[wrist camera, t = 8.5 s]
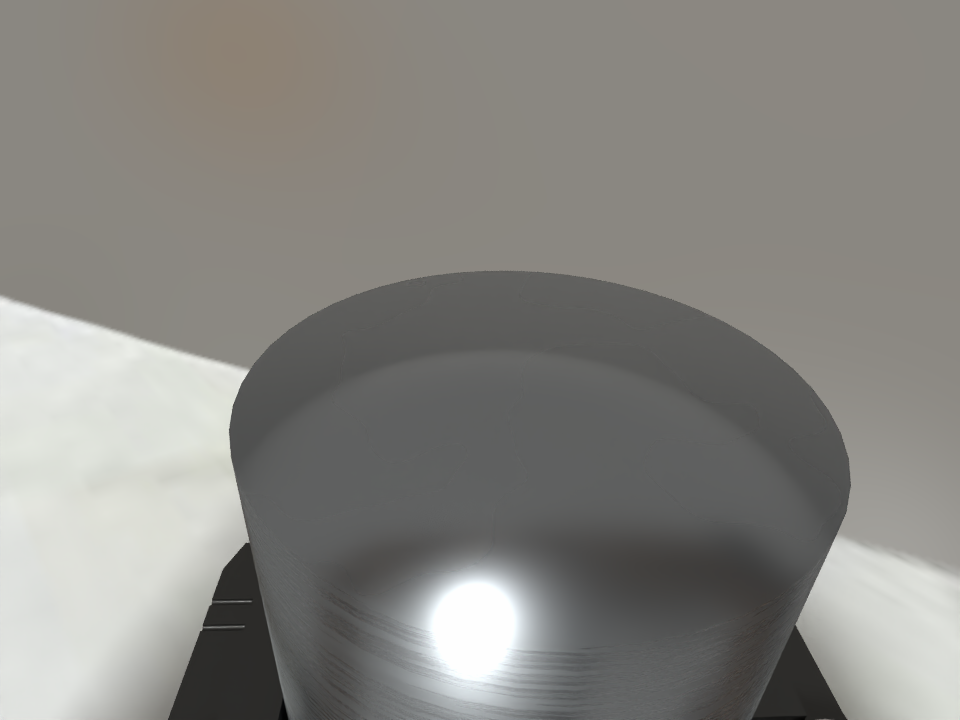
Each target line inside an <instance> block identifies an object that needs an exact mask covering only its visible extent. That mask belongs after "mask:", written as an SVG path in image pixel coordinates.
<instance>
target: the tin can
mask: <svg viewBox="0 0 960 720" xmlns="http://www.w3.org/2000/svg"><path fill="white" fill-rule="evenodd" d="M229 436H230V449H231V459H232V463H233V468H234V472H235V477H236V482H237V486H238V491H239V495H240V500H241V505H242V509H243V514H244V518H245V523H246V528H247V532H248V537H249V541H250V546H251V551H252V555H253V560H254V564H255V569H256V574H257V578H258V583H259V587H260V592H261V597H262V601H263V606H264V610H265V615H266V620H267V624H268V629H269V633H270V638H271V643H272V647H273V652H274V656H275V661H276V666H277V670H278V675H279V679H280V684H281V689H282V693H283V698H284V702H285V707H286V712H287V716H288V720H751V719H752V717H753V715H754V713H755V711H756V709H757V706H758V704H759V702H760V700H761V698H762V695H763V693H764V691H765V689H766V687H767V685H768V682H769V680H770V678H771V676H772V674H773V672H774V669H775V667H776V665H777V663H778V661H779V659H780V656H781V654H782V652H783V650H784V648H785V645H786V643H787V641H788V639H789V637H790V635H791V632H792V630H793V628H794V626H795V624H796V622H797V619H798V617H799V615H800V613H801V611H802V609H803V606H804V604H805V602H806V600H807V598H808V595H809V593H810V591H811V589H812V587H813V585H814V582H815V580H816V578H817V576H818V574H819V572H820V569H821V567H822V565H823V563H824V561H825V559H826V556H827V554H828V552H829V550H830V548H831V546H832V543H833V541H834V539H835V537H836V534H837V532H838V530H839V528H840V525H841V523H842V521H843V519H844V516H845V514H846V511H847V505H848V498H849V492H850V487H851V484H850V483H851V482H850V471H849V458H848V455H847V452H846V449H845V445H844V442H843V439H842V436H841V433H840V431H839V429H838V427H837V425H836V424H835V422H834V420H833V418H832V416H831V414H830V412H829V410H828V409H827V408H826V406H825V405H824V404H823V402H822V401H821V400H820V398H819V397H818V396H817V394H816V393H815V391H814V390H813V389H812V388H811V387H810V386H809V385H808V384H807V383H806V382H805V381H804V380H803V379H802V377H800V376H799V375H798V373H797V372H796V371H795V370H794V369H793V368H791V367H790V366H789V365H788V364H786V363H785V362H784V361H783V360H781V359H780V358H779V357H778V356H777V355H776V354H774V353H773V352H772V351H770V350H769V349H767V348H766V347H765V346H763V345H762V344H760V343H759V342H757V341H756V340H754V339H753V338H751V337H750V336H748V335H746V334H744V333H743V332H741V331H739V330H737V329H736V328H734V327H732V326H730V325H728V324H727V323H725V322H723V321H721V320H719V319H717V318H715V317H712V316H710V315H708V314H706V313H704V312H702V311H700V310H697V309H695V308H692V307H690V306H687V305H684V304H682V303H679V302H677V301H674V300H672V299H669V298H665V297H662V296H659V295H656V294H653V293H650V292H647V291H643V290H639V289H636V288H631V287H627V286H624V285H620V284H616V283H611V282H606V281H601V280H596V279H590V278H584V277H576V276H570V275H563V274H552V273H542V272H525V271H478V272H463V273H451V274H443V275H435V276H428V277H423V278H417V279H411V280H406V281H402V282H398V283H394V284H390V285H386V286H381V287H378V288H375V289H372V290H369V291H366V292H363V293H360V294H356V295H354V296H351V297H349V298H347V299H344V300H342V301H340V302H337V303H334V304H332V305H330V306H328V307H326V308H324V309H322V310H321V311H319V312H317V313H315V314H313V315H311V316H309V317H308V318H306V319H305V320H303V321H302V322H300V323H298V324H297V325H295V326H294V327H292V328H291V329H289V330H288V331H287V332H286V333H285V334H283V335H282V336H281V337H280V338H279V339H277V341H275V342H274V343H273V344H272V345H270V346H269V348H268V349H267V350H266V351H265V352H264V353H263V354H262V355H261V357H260V358H259V359H258V360H257V361H256V362H255V363H254V365H253V366H252V368H251V370H250V371H249V373H248V374H247V376H246V377H245V379H244V381H243V382H242V384H241V386H240V389H239V392H238V394H237V397H236V399H235V402H234V404H233V409H232V415H231V421H230V428H229Z"/></svg>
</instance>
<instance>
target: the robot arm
mask: <svg viewBox="0 0 960 720" xmlns="http://www.w3.org/2000/svg"><path fill="white" fill-rule="evenodd" d="M168 720H288V716H287V712H286V707H285V702H284V698H283V693H282V689H281V684H280V679H279V675H278V670H277V666H276V661H275V656H274V652H273V647H272V643H271V638H270V633H269V629H268V624H267V620H266V615H265V610H264V606H263V601H262V597H261V592H260V587H259V583H258V578H257V574H256V569H255V564H254V560H253V555H252V551H251V546H250V543H245V545H244V546H243V547H242V548H241V549H240V550H239V551H238V553H237V554H236V555H235V556H234V557H233V558H232V560H231V561H230V562H229V563H228V564H227V565H226V566H225V568H224V569H223V571H222V574H221V576H220V579H219V582H218V585H217V587H216V590H215V593H214V596H213V598H212V605H210V606H209V609H208V612H207V615H206V617H205V620H204V623H203V630H202V631H200V634H199V636H198V639H197V642H196V645H195V647H194V650H193V653H192V656H191V658H190V661H189V664H188V666H187V669H186V672H185V675H184V677H183V680H182V683H181V686H180V688H179V691H178V694H177V696H176V699H175V702H174V705H173V707H172V710H171V713H170V716H169V718H168ZM751 720H847V719H846V717H845V715H844V714H843V712H842V711H841V709H840V707H839V705H838V703H837V701H836V700H835V698H834V696H833V694H832V692H831V690H830V688H829V687H828V685H827V683H826V681H825V679H824V677H823V676H822V674H821V672H820V670H819V668H818V666H817V664H816V663H815V661H814V659H813V657H812V655H811V653H810V651H809V650H808V648H807V646H806V644H805V642H804V640H803V639H802V637H801V635H800V633H799V631H798V629H797V627H796V626H794V628H793V630H792V632H791V635H790V637H789V639H788V641H787V643H786V645H785V648H784V650H783V652H782V654H781V656H780V659H779V661H778V663H777V665H776V667H775V669H774V672H773V674H772V676H771V678H770V680H769V682H768V685H767V687H766V689H765V691H764V693H763V695H762V698H761V700H760V702H759V704H758V706H757V709H756V711H755V713H754V715H753V717H752V719H751Z"/></svg>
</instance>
